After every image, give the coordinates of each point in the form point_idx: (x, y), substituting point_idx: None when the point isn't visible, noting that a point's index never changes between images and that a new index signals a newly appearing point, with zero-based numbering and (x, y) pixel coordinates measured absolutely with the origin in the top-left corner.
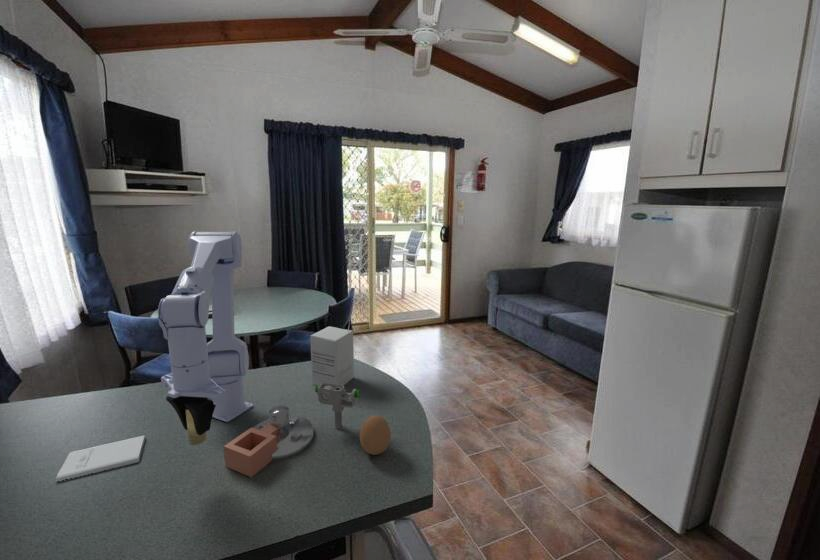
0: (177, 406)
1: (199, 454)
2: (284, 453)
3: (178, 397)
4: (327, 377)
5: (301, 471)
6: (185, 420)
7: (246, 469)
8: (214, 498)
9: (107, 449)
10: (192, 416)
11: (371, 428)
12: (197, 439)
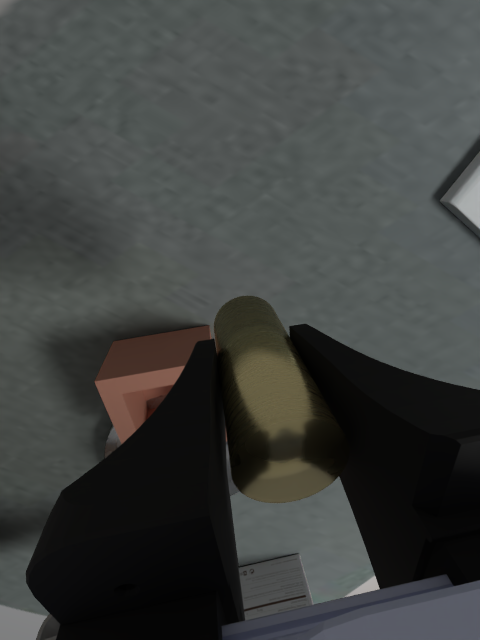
0: (376, 405)
1: (313, 310)
2: (113, 426)
3: (437, 494)
4: (261, 597)
5: (37, 415)
6: (309, 354)
7: (127, 348)
8: (112, 245)
9: None
10: (204, 403)
11: None
12: (219, 323)
